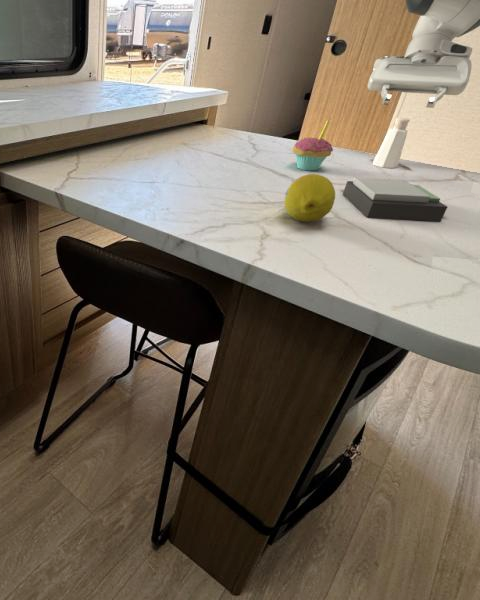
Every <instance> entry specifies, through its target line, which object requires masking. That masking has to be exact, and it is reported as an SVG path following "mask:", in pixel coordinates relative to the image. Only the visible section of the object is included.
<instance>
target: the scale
mask: <svg viewBox="0 0 480 600" xmlns="http://www.w3.org/2000/svg"><path fill="white" fill-rule="evenodd" d="M353 178H354V179H353V180H347V181H346V184H345V187H344V189H343V192H342V195H343V196H344V197H345V198H346V199H347V200H348V201H349V202H350V203H351V204H352V205H353V206H354V207H355V208H356V209H358V211H360V212H361V213H362V214H363V215H364V216H365V217H366V218H369V219H386V220H387V219H388V220H389V219H390V220H401V221H402V220H403V221H421V222H422V221H423V222H439V223H440V222H442V219H443V218H444V215H445V214H446V212H447V210H448V206H447V205H446V204H444V203H442V202H441V198H440V197H439V196H437V195H435V194H434V193H432V192H431V191H429V190H427V189H426V188H424V187H422V186H421V185H419V184H413V183H410V182H409V181H407V180H405V179H397V178H378V177H377V178H375V177H353Z"/></svg>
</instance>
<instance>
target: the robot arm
mask: <svg viewBox="0 0 480 600" xmlns="http://www.w3.org/2000/svg"><path fill="white" fill-rule="evenodd" d="M405 6H406V9H407V12H408V13H410V14H414V15H417V16H419V19H418V20H417V22H416V23H415V26H414V29H413V31H412V34H411V35H412V36H411V40H410V42H409V43H408V45H407V47H406V50H405V52H404V55H394V56H393V55H392V56H391V55H384V56H383V57H379V58H377V59H376V60H374V63H373V65H372V72H371V75H370V77H369V79H368V82H367V89H368V91H373V92H380V96H381V99H382V102H381V105H386V106H388V105H389V103H390V101H391V98H392V94H389V92H391V93H393V92H394V93H408V94H425V95H426V94H428V95H435V96H433V97H429V99H428V101H427V104H426V106H425V108H426V109H427V108H428V109H434V107H435V106H436V104H437V103H438V102H439V101H440V100H441V99H442V98H444V96H459V95H460V94H462V93H463V92H464V90H465V89H466V87H467V86H468V83H469V81H470V77H471V72H472V66H473V65H472V61H471V59H470V57H471V56H472V52H473V48H472V47H471V46H467V45H463V44H461V43H456V42H453V40H454V39H455V38H460V37H463V36H464V35H466V34H469V33H471V32H472V31H474V30H476V29H478V28H479V27H480V0H405Z"/></svg>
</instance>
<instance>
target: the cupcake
mask: <svg viewBox="0 0 480 600" xmlns="http://www.w3.org/2000/svg"><path fill="white" fill-rule="evenodd" d="M331 118H332V117H331V116H330V117H329V118H328V119H327V120H326V122H325V124H324V126H323V128H322V131H321V133H320V135H319V137H304V138H301V139H300V140H298V141H296V142H295V144H294V146H293V148H292V149H291V151H292V153H294V154H295V158H296V168H298V170H302V171H308V172H309V171H311V172H313V171H317V170H319V168H320V167H321V165H322V164H323V162H324V161H325V160H326V158H328V157H330V156H331V155H332V152H333V151H334V148H333V146H332V144H331V143H330V142H329V141H328V140H325V139H324V138H323V137H324V135H325V133H326V130H327V129H328V127H329V124H330V123H331Z"/></svg>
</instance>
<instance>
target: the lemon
mask: <svg viewBox="0 0 480 600" xmlns="http://www.w3.org/2000/svg"><path fill="white" fill-rule="evenodd" d="M335 200H336V190H335V187H334V184H333V183H332V181H331V180H330V179H329V178H328V177H325V176H324V175H321V174H317V173H309V174H305V175H301V176H299V177H298V178H296V180H294V181H293V182H292V183H291V184H290V185H289V186H288V188H287V189H286V191H285V193H284V209H285V211H286V212H287V214H288V216H289V217H291V218H293V219H294V220H297V221H299V222H304V223H305V222H306V223H307V222H316V221H319V220H321V219H322V218H324V217H326V216H327V215H328V214H329V213H330V212H331V210H332V209H333V206H334V204H335Z"/></svg>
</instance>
